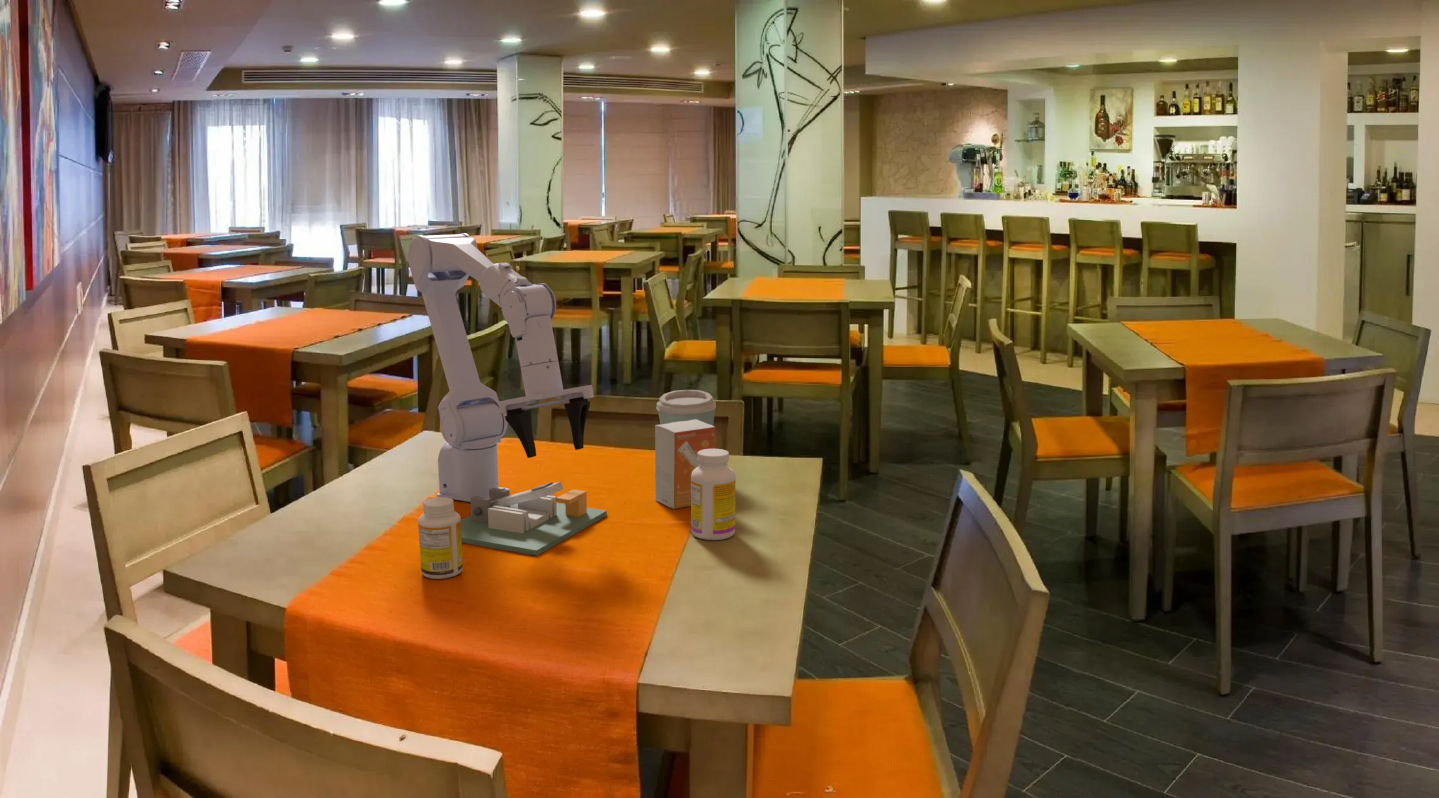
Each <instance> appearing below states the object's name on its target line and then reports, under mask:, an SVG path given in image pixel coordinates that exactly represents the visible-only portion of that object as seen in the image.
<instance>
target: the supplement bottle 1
mask: <svg viewBox="0 0 1439 798" xmlns="http://www.w3.org/2000/svg"><path fill="white" fill-rule="evenodd" d="M422 504H423V505H422V507H423V508H422V511H423V513H422V514H420V516H419V517H418V519H417V523H418V542H419V543H418V544H419V555H420V556H419V557H420V569H421V574H422V576H424V577H426V578H429V579H433V580H434V579H435V580H443V579H444V580H445V579H449V578H452V577H456V576H457V575H459V574H460V573H461V572H462V571H463V570H464V569H463V568H464V563H463V543H462V540H461V520H462V519H461V515H460V513H458V512H457V511H455V504H454V499H451V498H447V497H437V496H436V497H431V498H428V499H426V500H424V501H423V503H422Z"/></svg>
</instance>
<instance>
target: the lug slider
mask: <svg viewBox="0 0 1439 798" xmlns="http://www.w3.org/2000/svg"><path fill="white" fill-rule="evenodd" d="M587 500H588V499H587V491H586V490H581V489H574V488H573V489H570V491H567V492H565V493H563V494H561V495H559V496H556V503H560V504H565V510H566V515H570V516H576V517H580V516H581V515H583V514H585V513H587V508H588V506H587V504H588V503H587Z"/></svg>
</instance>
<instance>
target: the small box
mask: <svg viewBox="0 0 1439 798" xmlns="http://www.w3.org/2000/svg"><path fill="white" fill-rule="evenodd" d="M654 430H655V431H654V439H655V441H654V445H655V447H654V449H655V450H654V451H655V453H654V461H655V462H654V479H655V480H654V481H655V482H654V489H655V490H654V500H655V501H656V502H659V503H660V504H663V505H664V506H667V507H668V508H670V509H673V510H677V509H682V508H687V507H691V474H692V471H693V470H694V469H695V468H697V467H699V462H698V460H697V457H698V451H700V450H703V449H716V426H714V425H713V426H712V425H710V424H707V423H704V422H702V421H699V420H697V419H695V420H689V421H679V422H672V423H668V424H655V425H654Z"/></svg>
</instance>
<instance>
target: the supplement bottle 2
mask: <svg viewBox="0 0 1439 798" xmlns="http://www.w3.org/2000/svg"><path fill="white" fill-rule="evenodd" d="M697 460H698V462H699V467H697V468H695V469H694V470H693V471H692V474H691V506H690V508H691V509H690V511H691V512H690V515H691V517H690V520H691V521H690V525H691V526H690V527H691V533H692V535H693V536H694V537H696V538H698V539H700V540H705V541H721V540H725V539H726V540H727V539H729V538H731V537H733V535H735V533H736V473H735V470H734V469H733V468H731V467H730V466H728V463H729V460H730V453H729V451H728V450H727V449H726V450H725V449H721V448H715V449H703V450H700V451H698V457H697Z"/></svg>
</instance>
